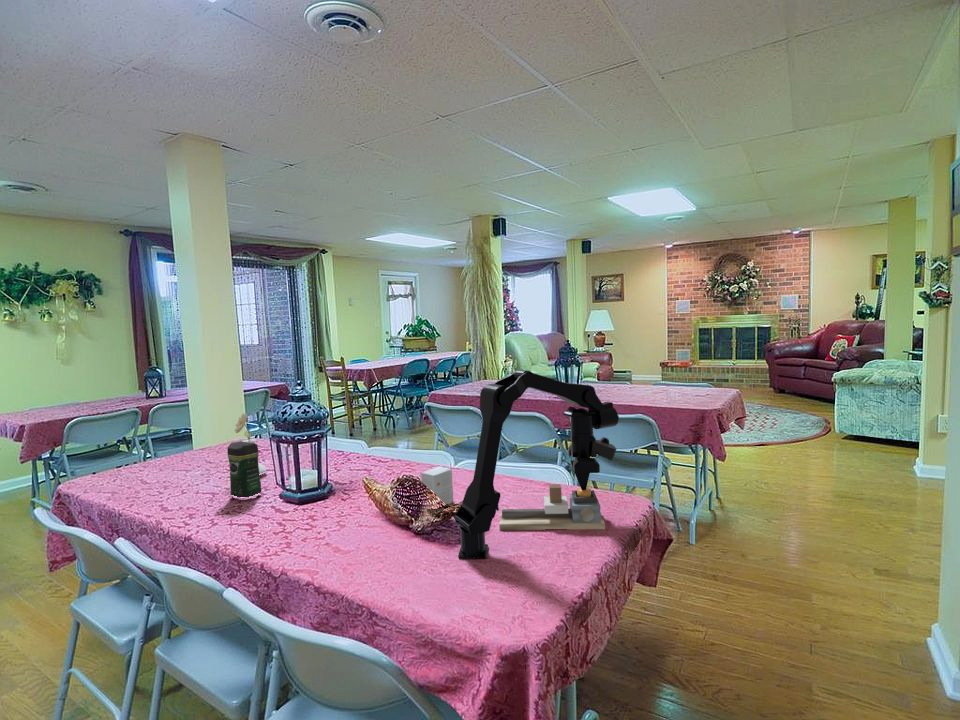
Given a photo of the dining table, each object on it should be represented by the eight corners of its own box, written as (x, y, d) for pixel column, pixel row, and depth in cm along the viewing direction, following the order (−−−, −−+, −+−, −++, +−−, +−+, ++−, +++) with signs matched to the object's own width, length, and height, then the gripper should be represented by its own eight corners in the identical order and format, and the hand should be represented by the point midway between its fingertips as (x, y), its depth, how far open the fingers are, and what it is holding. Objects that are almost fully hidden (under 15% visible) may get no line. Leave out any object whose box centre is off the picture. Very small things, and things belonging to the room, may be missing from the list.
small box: (440, 499, 156) (439, 465, 155) (454, 502, 152) (452, 468, 151) (422, 506, 150) (420, 472, 149) (435, 510, 146) (433, 475, 145)
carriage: (568, 513, 130) (567, 490, 129) (545, 513, 130) (544, 490, 130) (566, 503, 137) (565, 481, 136) (544, 504, 137) (543, 482, 137)
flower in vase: (237, 474, 193) (232, 410, 192) (269, 470, 197) (264, 407, 195) (231, 484, 181) (226, 416, 179) (265, 480, 184) (260, 413, 182)
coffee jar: (266, 495, 167) (262, 440, 165) (243, 503, 160) (239, 446, 159) (249, 491, 172) (245, 438, 171) (226, 498, 165) (222, 443, 164)
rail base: (605, 529, 128) (604, 500, 127) (499, 529, 130) (498, 501, 130) (599, 514, 138) (598, 487, 137) (501, 515, 140) (500, 489, 140)
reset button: (592, 500, 131) (591, 491, 130) (578, 500, 131) (577, 491, 131) (590, 496, 134) (590, 487, 134) (576, 496, 135) (576, 487, 134)
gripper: (620, 439, 121) (621, 502, 122) (607, 423, 140) (608, 478, 141) (573, 440, 122) (575, 502, 123) (567, 424, 141) (568, 479, 142)
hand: (583, 489), depth 132 cm, fingers closed, pressing on reset button
